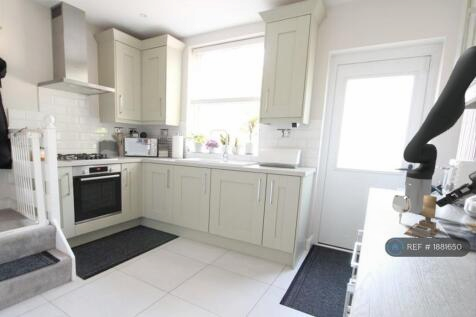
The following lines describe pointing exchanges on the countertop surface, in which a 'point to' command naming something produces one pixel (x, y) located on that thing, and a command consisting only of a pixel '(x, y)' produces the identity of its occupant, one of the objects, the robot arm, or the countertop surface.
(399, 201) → the wineglass
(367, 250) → the countertop surface
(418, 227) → the plank
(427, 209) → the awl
